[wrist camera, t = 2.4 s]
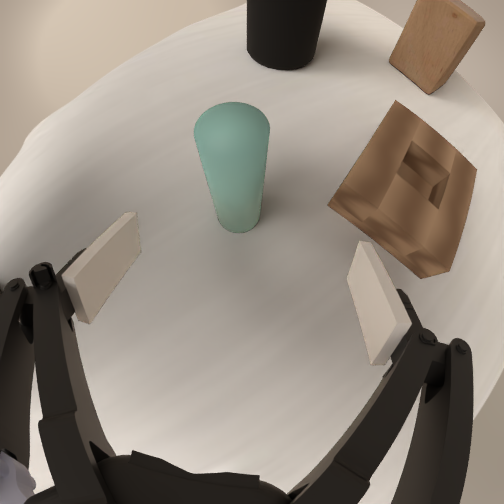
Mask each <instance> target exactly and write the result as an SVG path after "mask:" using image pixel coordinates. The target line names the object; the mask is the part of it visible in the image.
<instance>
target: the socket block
mask: <svg viewBox="0 0 504 504" xmlns="http://www.w3.org/2000/svg"><path fill="white" fill-rule="evenodd" d="M476 172H477V169H476V168H475V167H474V166H473V165H472V164H471V163H470V162H469V161H468V160H467V159H466V158H465V157H464V156H463V155H462V154H461V153H460V152H459V151H458V150H457V149H456V148H455V147H454V146H452V145H451V144H450V143H449V142H448V141H447V140H446V139H445V138H444V137H442V136H441V135H440V134H439V133H438V132H437V131H435V130H434V129H433V128H432V127H431V126H429V125H428V124H427V123H426V122H424V121H423V120H422V119H421V118H419V117H418V116H417V115H416V114H414V113H413V112H412V111H410V110H409V109H407V108H406V107H405V106H403V105H402V104H401V103H399V102H398V101H396V100H395V102H394V103H393V105H392V106H391V108H390V110H389V111H388V113H387V114H386V116H385V117H384V119H383V121H382V122H381V124H380V125H379V127H378V129H377V130H376V132H375V133H374V135H373V136H372V138H371V140H370V141H369V143H368V144H367V146H366V147H365V149H364V150H363V152H362V154H361V155H360V157H359V158H358V160H357V161H356V163H355V164H354V166H353V167H352V169H351V170H350V172H349V173H348V175H347V176H346V178H345V179H344V181H343V182H342V184H341V185H340V187H339V188H338V190H337V191H336V193H335V194H334V196H333V197H332V199H331V200H330V202H329V203H328V206H329V207H331V208H332V209H333V210H335V211H336V212H337V213H339V214H340V215H342V216H343V217H344V218H346V219H347V220H348V221H350V222H351V223H352V224H354V225H355V226H356V227H358V228H359V229H360V230H361V231H363V232H364V233H365V234H367V235H368V236H369V237H371V238H372V239H373V240H374V241H376V242H377V243H378V244H379V245H381V246H382V247H383V248H384V249H386V250H387V251H388V252H389V253H390V254H392V255H393V256H394V257H395V258H397V259H398V260H399V261H400V262H401V263H403V264H404V265H405V266H406V267H407V268H408V269H410V270H411V271H412V272H413V273H414V274H415V275H417V276H418V277H419V278H420V279H422V278H426V277H430V276H434V275H438V274H441V273H445V272H449V271H450V268H451V266H452V263H453V260H454V257H455V254H456V251H457V248H458V245H459V242H460V239H461V236H462V232H463V229H464V225H465V222H466V218H467V214H468V210H469V206H470V202H471V197H472V193H473V188H474V183H475V178H476Z"/></svg>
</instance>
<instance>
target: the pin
mask: <svg viewBox="0 0 504 504" xmlns="http://www.w3.org/2000/svg"><path fill="white" fill-rule="evenodd" d="M269 134H270V126H269V122H268V120H267V118H266V116H265V115H264V114H263V113H262V112H261V111H260V110H259V109H257V108H256V107H254V106H251V105H249V104H245V103H240V102H228V103H222V104H219V105H216V106H214V107H212V108H210V109H208V110H207V111H205V112H204V113H203V114H202V115H201V116H200V117H199V119H198V120H197V122H196V124H195V128H194V138H195V141H196V145H197V148H198V152H199V155H200V159H201V162H202V166H203V169H204V172H205V176H206V179H207V183H208V186H209V189H210V193H211V196H212V199H213V203H214V206H215V209H216V213H217V216H218V219H219V222H220V224H221V225H222V226H223V227H224V228H225V229H226V230H228V231H230V232H233V233H244V232H247V231H249V230H251V229H252V228H253V227H254V226H255V225H256V224H257V222H258V220H259V217H260V210H261V202H262V194H263V185H264V177H265V168H266V160H267V151H268V142H269Z"/></svg>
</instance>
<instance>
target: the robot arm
mask: <svg viewBox="0 0 504 504" xmlns="http://www.w3.org/2000/svg"><path fill="white" fill-rule="evenodd" d="M140 253H141V246H140V238H139V229H138V219H137V213H133V212H125V213H124V214H123V215H122V216H121V217H120V218H119V219H118V220H117V221H115V222H114V223H113V224H112V225H111V226H110V227H109V228H108V229H107V230H106V231H105V232H104V233H103V234H101V235H100V236H99V237H98V238H97V239H96V240H95V241H94V242H93V243H92V244H91V245H90V246H89V247H88V248H87V249H86V248H85V249H83V250H81V251H80V252H78V253H77V254H76V255H75V256H74V257H73V258H72V259H71V260H70V261H69V262H68V264H66V265H65V266H64V267H63V268H62V269H61V270H60V271H59V272H58V273H57V274H56V275H55V273H54V270H53V267H52V264H50V263H48V262H43V263H39V264H37V265H35V266H34V267H32V269H31V270H30V271H29V277H30V279H31V282H32V284H33V286H30V287H26V284H25V282H24V280H23V279H22V278H16V279H13V280H11V281H10V282H9V283H8V284H7V285H6V287H5V288H4V291H3V293H2V292H1V290H0V504H358V502H359V501H360V500H361V498H362V497H363V496H364V495H365V493H366V492H367V490H368V488H369V486H370V482H369V480H370V478H371V476H372V475H373V473H374V472H375V470H376V469H377V467H378V466H379V464H380V463H381V461H382V460H383V458H384V457H385V455H386V454H387V452H388V450H389V449H390V447H391V445H392V444H393V442H394V440H395V439H396V437H397V435H398V433H399V431H400V430H401V428H402V426H403V424H404V422H405V420H406V418H407V417H408V415H409V413H410V411H411V409H412V407H413V404H414V402H415V400H416V398H417V396H418V394H419V392H420V389H421V387H422V390H421V397H420V403H419V408H418V413H417V418H416V423H415V428H414V432H413V436H412V440H411V444H410V448H409V452H408V455H407V459H406V462H405V466H404V469H403V472H402V475H401V478H400V481H399V484H398V487H397V489H396V492H395V495H394V497H393V500H392V502H391V504H460V499H461V496H462V492H463V487H464V483H465V478H466V472H467V467H468V461H469V454H470V446H471V437H472V424H473V364H472V352H471V348H470V347H469V345H468V344H467V343H466V342H465V341H464V340H462V339H459V338H455V339H453V340H452V341H451V343H450V344H449V345H447V344H444V343H440V342H438V340H437V337H436V336H435V335H434V333H432V332H431V331H430V330H428V329H426V328H423V327H422V325H421V322H420V320H419V318H418V316H417V314H416V312H415V310H414V308H413V306H412V304H411V302H410V300H409V298H408V296H407V295H406V294H405V293H404V292H403V291H402V290H401V289H395V287H394V285H393V283H392V281H391V279H390V277H389V275H388V273H387V271H386V269H385V267H384V265H383V263H382V261H381V260H380V258H379V256H378V254H377V252H376V251H375V249H374V247H373V245H372V243H371V242H366V241H359V243H358V246H357V249H356V252H355V255H354V258H353V261H352V264H351V267H350V270H349V273H348V276H347V282H348V285H349V288H350V291H351V295H352V298H353V301H354V305H355V308H356V311H357V315H358V318H359V322H360V325H361V329H362V333H363V337H364V340H365V344H366V348H367V352H368V356H369V360H370V364H371V365H385V364H386V363H387V361H388V360H389V358H390V357H391V360H392V363H393V364H392V365H391V366H390V368H389V369H388V370H387V372H386V373H385V374H384V376H383V379H382V381H381V382H380V384H379V386H378V387H377V389H376V390H375V392H374V393H373V395H372V396H371V398H370V399H369V401H368V402H367V404H366V405H365V406H364V408H363V409H362V411H361V412H360V413H359V415H358V416H357V417H356V419H355V420H354V422H353V423H352V424H351V425H350V427H349V428H348V429H347V431H346V432H345V433H344V434H343V436H342V437H341V438H340V439H339V441H338V442H337V443H336V444H335V445H334V447H333V448H332V449H331V450H330V451H329V453H328V454H327V455H326V456H325V457H324V458H323V459H322V460H321V462H320V463H319V464H318V465H317V466H316V467H315V468H314V469H313V470H312V471H311V472H310V473H309V474H308V475H307V476H306V477H305V478H304V479H303V480H302V481H300V482H299V483H298V484H297V485H296V486H295V487H294V488H293V489H292V490H291V491H289V492H288V493H287V494H286V493H285V492H283V491H282V490H280V489H279V488H277V487H275V486H273V485H272V484H269V483H267V482H264V481H261V480H259V477H260V475H248V474H238V473H230V472H222V473H205V474H193V473H189V472H187V471H185V470H183V469H181V468H179V467H176V466H174V465H172V464H170V463H168V462H167V461H165V460H163V459H160V458H156V457H153V456H150V455H146V454H143V453H140V452H137V451H134V450H133V451H132V454H131V455H119V456H116V454H115V452H114V451H113V449H112V447H111V446H110V444H109V443H108V441H107V439H106V437H105V435H104V432H103V430H102V427H101V424H100V422H99V419H98V416H97V413H96V410H95V407H94V404H93V401H92V398H91V395H90V392H89V388H88V385H87V381H86V378H85V374H84V370H83V366H82V362H81V358H80V353H79V349H78V344H77V339H76V334H75V328H74V323H73V320H72V318H71V317H72V315H73V314H74V312H75V313H76V316H77V318H78V320H79V321H82V322H85V323H88V324H91V322H92V321H93V319H94V318H95V316H96V315H97V313H98V312H99V310H100V309H101V307H102V306H103V304H104V303H105V301H106V300H107V298H108V297H109V296H110V294H111V293H112V291H113V290H114V288H115V287H116V286H117V284H118V283H119V281H120V280H121V279H122V277H123V276H124V274H125V273H126V272H127V270H128V269H129V268H130V266H131V265H132V264H133V262H134V261H135V260H136V258H137V257H138V256H139V254H140ZM34 365H35V366H36V375H37V383H38V391H39V397H40V403H41V408H42V414H43V419H42V420H40V421H39V423H38V428H39V433H40V438H41V442H42V446H43V449H44V453H45V456H46V460H47V463H48V466H49V469H50V472H51V475H52V478H53V481H54V484H55V486H53V487H50V488H48V489H46V490H44V491H42V492H40V493H37V494H34V492H33V490H34V489H35V488H36V482H35V480H34V478H33V477H31V475H30V473H29V471H28V469H29V458H30V403H31V390H32V381H33V372H34Z"/></svg>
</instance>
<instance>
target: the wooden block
mask: <svg viewBox="0 0 504 504" xmlns="http://www.w3.org/2000/svg"><path fill="white" fill-rule="evenodd" d="M484 26H485V21H484V19H483V18H482V17H481V16H480V15H479V14H477V13H476V12H475V11H474V10H472V9H471V8H470V7H468V6H467V5H466V4H464V3H463V2H462V1H460V0H417V1H416V4H415V6H414V8H413V10H412V12H411V14H410V17H409V19H408V21H407V23H406V25H405V27H404V29H403V31H402V34H401V36H400V38H399V40H398V42H397V44H396V46H395V48H394V50H393V52H392V54H391V56H390V59H389V62H390V63H391V64H392V65H393V66H394V67H396V68H397V69H398V70H399V71H401V72H402V73H403V74H404V75H406V76H407V77H408V78H409V79H410V80H412V81H413V82H414V83H415V84H416V85H417V86H419V87H420V88H421V89H422V90H423V91H424V92H425V93H427V94H431V93H433V92H434V91H435V90H437V89H438V88H439V87H441V86H442V85H443V84H445V83H446V81H447V80H448V78H449V77H450V76H451V74H452V73H453V71H454V70H455V69H456V67H457V66H458V64H459V63H460V62H461V60H462V59H463V57H464V56H465V54H466V53H467V52H468V50H469V49H470V47H471V46H472V44H473V43H474V41H475V40H476V38H477V37H478V35H479V34H480V32H481V31H482V29H483V28H484Z"/></svg>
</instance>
